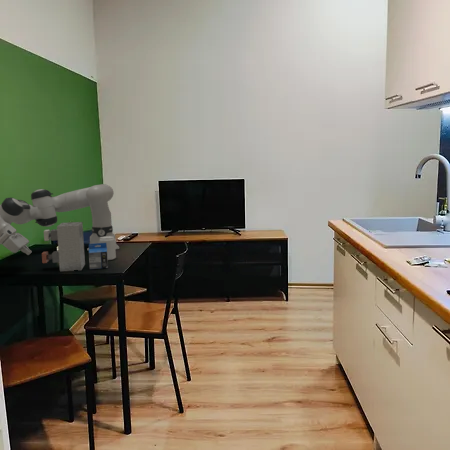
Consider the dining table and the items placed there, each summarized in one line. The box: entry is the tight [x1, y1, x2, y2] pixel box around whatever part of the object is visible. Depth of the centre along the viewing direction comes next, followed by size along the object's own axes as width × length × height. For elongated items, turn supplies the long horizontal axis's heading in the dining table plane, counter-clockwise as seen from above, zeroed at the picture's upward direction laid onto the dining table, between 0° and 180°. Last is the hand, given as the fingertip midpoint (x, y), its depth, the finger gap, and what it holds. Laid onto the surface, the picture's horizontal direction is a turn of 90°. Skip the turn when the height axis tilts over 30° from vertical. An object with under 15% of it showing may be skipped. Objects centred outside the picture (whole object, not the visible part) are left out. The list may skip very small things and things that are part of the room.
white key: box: [43, 229, 51, 242], centre depth 229 cm, size 5×6×5 cm
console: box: [50, 221, 86, 272], centre depth 231 cm, size 14×14×22 cm
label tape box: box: [88, 243, 109, 270], centre depth 230 cm, size 9×4×12 cm, turn 103°
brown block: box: [41, 251, 52, 264], centre depth 230 cm, size 5×6×5 cm
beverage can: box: [100, 236, 117, 261], centre depth 251 cm, size 8×8×12 cm
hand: (30, 253), depth 228 cm, fingers closed
